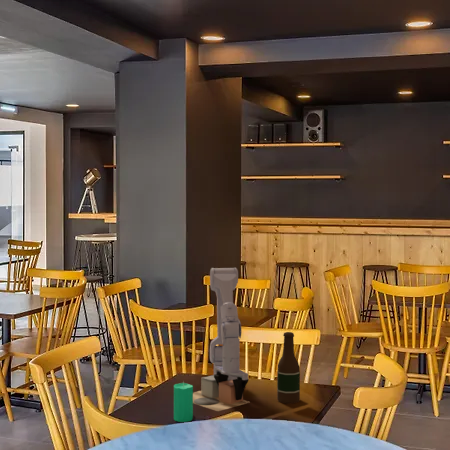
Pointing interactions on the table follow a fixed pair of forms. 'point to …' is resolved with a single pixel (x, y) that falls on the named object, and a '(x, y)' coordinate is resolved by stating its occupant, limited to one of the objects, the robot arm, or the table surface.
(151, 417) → the table surface
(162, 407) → the table surface
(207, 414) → the table surface
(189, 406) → the candle
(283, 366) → the beer bottle
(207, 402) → the board
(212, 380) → the grey square box
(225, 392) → the small tan cube
